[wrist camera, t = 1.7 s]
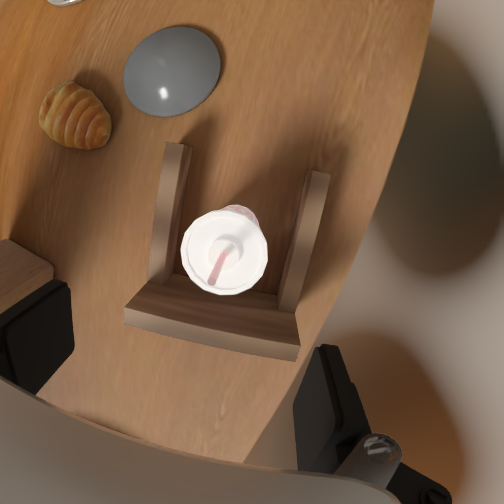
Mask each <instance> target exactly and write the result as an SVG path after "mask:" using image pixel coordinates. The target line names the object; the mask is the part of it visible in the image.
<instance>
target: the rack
mask: <svg viewBox="0 0 504 504" xmlns="http://www.w3.org/2000/svg"><path fill="white" fill-rule="evenodd" d="M192 150H193V146H188V145H184V144H177V143H170V142H166V147H165V152H164V158H163V163H162V169H161V175H160V181H159V187H158V194H157V201H156V208H155V215H154V223H153V231H152V239H151V248H150V258H149V269H148V280H147V283H146V284H145V285H144V286H143V287H142V288H141V289H140V291H139V292H138V293H137V294H136V295H135V296H134V297H133V298H132V299H131V300H130V301H129V303H128V304H127V305H126V306H125V307H124V324H126V325H129V326H133V327H136V328H140V329H143V330H147V331H151V332H154V333H158V334H162V335H166V336H170V337H174V338H178V339H182V340H186V341H190V342H194V343H199V344H203V345H207V346H212V347H217V348H221V349H226V350H231V351H236V352H241V353H246V354H251V355H257V356H262V357H268V358H274V359H280V360H286V361H293V362H295V361H296V358H297V355H298V352H299V349H300V347H301V345H300V339H299V334H298V329H297V323H296V318H295V311H296V308H297V304H298V301H299V297H300V294H301V291H302V287H303V283H304V280H305V276H306V273H307V269H308V266H309V262H310V258H311V255H312V251H313V247H314V243H315V239H316V236H317V232H318V228H319V224H320V220H321V216H322V212H323V208H324V204H325V200H326V195H327V191H328V187H329V183H330V178H331V175H330V174H326V173H322V172H319V171H315V170H308V169H307V173H306V177H305V182H304V186H303V190H302V195H301V199H300V203H299V208H298V212H297V216H296V220H295V224H294V229H293V233H292V237H291V241H290V245H289V249H288V253H287V257H286V261H285V265H284V269H283V273H282V277H281V281H280V285H279V289H278V292H277V295H273V294H268V293H263V292H258V291H253V290H248V289H247V290H245V291H242V292H240V293H238V294H233V295H218V294H215V293H212V292H209V291H206V290H203V289H202V288H201V287H200V286H198V285H197V284H196V283H195V282H194V281H192V280H191V279H190V277H188V276H184V275H179V274H175V273H173V269H174V261H175V254H176V246H177V239H178V232H179V225H180V219H181V212H182V206H183V200H184V194H185V188H186V183H187V177H188V171H189V166H190V161H191V156H192Z"/></svg>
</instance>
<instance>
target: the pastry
mask: <svg viewBox="0 0 504 504" xmlns="http://www.w3.org/2000/svg"><path fill="white" fill-rule="evenodd" d="M39 124H40V126H41V127H42V128H43V130H45V131H46V133H47V134H48V136H49V137H50V138H51V139H52V140H54V141H56V142H58V143H59V144H61V145H62V146H67V147H74V148H81V149H87V150H91V149H95V148H100V147H102V146H104V145H105V144H106V142H107V141H108V139H109V137H110V134H111V128H112V122H111V116H110V115H109V113H108V112H107V111H106V110H105V109H104V106H103V104H102V103H101V102H100V101H99V99H98V98H97V97H96V96H95V95H94V93H93V92H92V91H91V90H87V89H84V88H83V87H81V86H79V85H77V84H76V83H74V81H72V80H68V81H66V82H64V83H61V84H59V85H58V86H57V87H54V88H52V89H51V90H50V91H49V92H48V94H47V95H46V97H45V98H44V100H43V102H42V104H41V106H40V113H39Z"/></svg>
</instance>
